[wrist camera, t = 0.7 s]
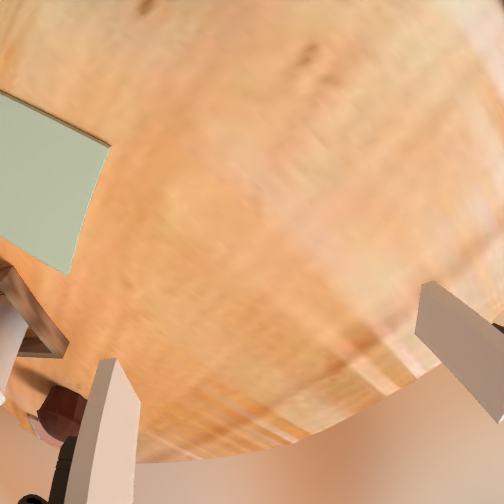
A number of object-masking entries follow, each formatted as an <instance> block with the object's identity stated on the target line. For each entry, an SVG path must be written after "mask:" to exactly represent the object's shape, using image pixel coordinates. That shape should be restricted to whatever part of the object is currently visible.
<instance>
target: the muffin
mask: <svg viewBox="0 0 504 504" xmlns="http://www.w3.org/2000/svg"><path fill="white" fill-rule="evenodd" d="M87 401H88V400H86V399H85V398H83V397H82V396H81V395H80V394H78V393H76V392H73V391H71V390H69V389H68V388H63V387H59V386H55V387H54V388H52V389H51V390H50V392H49V394H48V396H47V397H46V399H45V401H44V403H43V404H42V406H41V408H40V409H39V410H37V414H38V418H39V421H40V423H41V425H42V427H43V428H44V430H45V431H46V432H47V433H48V434H49V435H50V436H52V437H53V438H55V439H56V440H58V441H61V442H65V440H66V439H67V437H68V436H78V434H79V430H80V426H81V423H82V419H83V415H84V411H85V408H86V404H87Z"/></svg>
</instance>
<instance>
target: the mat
mask: <svg viewBox="0 0 504 504" xmlns="http://www.w3.org/2000/svg"><path fill="white" fill-rule="evenodd" d="M110 149H111V146H110V145H108V144H106V143H104V142H102V141H100V140H98V139H96V138H95V137H93V136H91V135H89V134H87V133H85V132H83V131H81V130H79V129H77V128H75V127H73V126H71V125H69V124H67V123H65V122H63V121H61V120H59V119H57V118H55V117H53V116H51V115H49V114H47V113H45V112H43V111H41V110H39V109H37V108H35V107H33V106H31V105H29V104H27V103H25V102H23V101H20V100H18V99H16V98H14V97H12V96H10V95H8V94H6V93H4V92H2V91H0V236H1V237H3V238H4V239H6V240H8V241H9V242H11V243H12V244H14V245H16V246H17V247H19V248H20V249H22V250H24V251H25V252H27V253H29V254H30V255H32V256H34V257H35V258H37V259H39V260H41V261H42V262H44V263H46V264H47V265H49V266H51V267H53V268H54V269H56V270H58V271H60V272H62V273H63V274H65V275H67V276H68V274H69V272H70V269H71V265H72V261H73V257H74V253H75V249H76V246H77V242H78V239H79V235H80V232H81V229H82V226H83V222H84V219H85V216H86V213H87V210H88V207H89V204H90V201H91V198H92V195H93V192H94V190H95V187H96V184H97V181H98V179H99V176H100V173H101V171H102V168H103V166H104V163H105V161H106V158H107V156H108V153H109V151H110Z"/></svg>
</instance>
